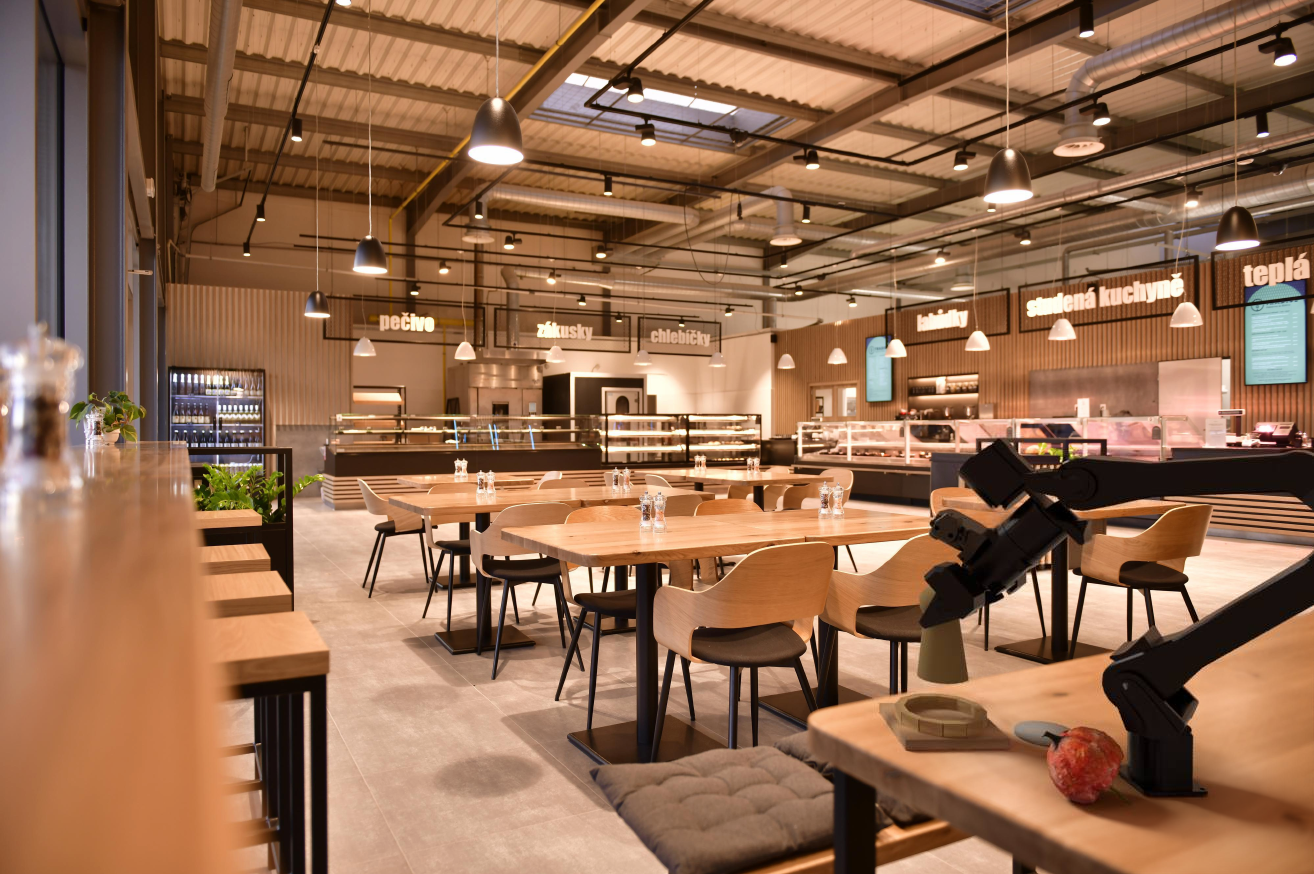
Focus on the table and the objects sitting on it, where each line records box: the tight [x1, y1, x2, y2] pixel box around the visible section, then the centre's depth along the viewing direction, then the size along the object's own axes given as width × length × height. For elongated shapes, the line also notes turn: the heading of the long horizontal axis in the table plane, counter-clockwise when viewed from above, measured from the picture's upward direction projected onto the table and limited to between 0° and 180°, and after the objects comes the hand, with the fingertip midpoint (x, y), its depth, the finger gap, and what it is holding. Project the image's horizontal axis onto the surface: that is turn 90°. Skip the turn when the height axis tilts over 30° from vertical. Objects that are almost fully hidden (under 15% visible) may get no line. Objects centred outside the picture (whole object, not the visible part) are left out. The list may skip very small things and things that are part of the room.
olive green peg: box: [916, 586, 969, 685], centre depth 103 cm, size 6×6×11 cm
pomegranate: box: [1042, 725, 1133, 805], centre depth 85 cm, size 7×7×10 cm
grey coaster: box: [1013, 720, 1071, 747], centre depth 101 cm, size 7×7×1 cm
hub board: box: [878, 692, 1010, 751], centre depth 103 cm, size 12×12×3 cm
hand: (930, 620), depth 104 cm, fingers closed on olive green peg, 5 cm apart
